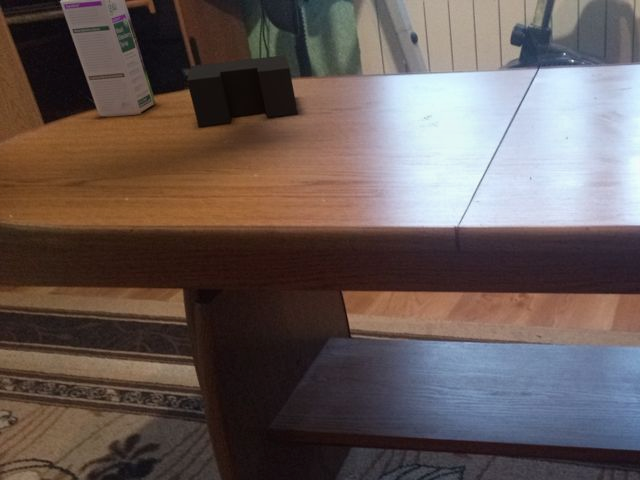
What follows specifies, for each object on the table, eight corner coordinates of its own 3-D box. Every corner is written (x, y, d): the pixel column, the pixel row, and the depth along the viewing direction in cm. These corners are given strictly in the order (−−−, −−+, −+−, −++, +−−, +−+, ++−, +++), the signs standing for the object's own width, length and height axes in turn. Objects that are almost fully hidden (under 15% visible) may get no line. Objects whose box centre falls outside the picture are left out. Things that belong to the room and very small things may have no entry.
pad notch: (198, 127, 89) (186, 80, 86) (202, 109, 97) (191, 65, 94) (298, 114, 91) (289, 67, 88) (292, 97, 100) (284, 54, 97)
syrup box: (140, 114, 97) (104, -7, 89) (97, 117, 97) (57, -3, 90) (156, 104, 102) (124, -11, 94) (115, 107, 102) (79, -8, 95)
